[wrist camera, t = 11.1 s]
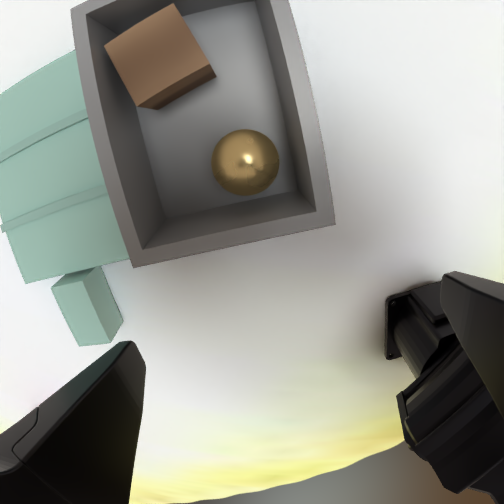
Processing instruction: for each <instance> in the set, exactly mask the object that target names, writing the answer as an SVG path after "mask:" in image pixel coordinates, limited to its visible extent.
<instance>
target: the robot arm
mask: <svg viewBox="0 0 504 504" xmlns="http://www.w3.org/2000/svg"><path fill="white" fill-rule="evenodd" d="M393 301H394V303H393V304H391V303H392V302H393ZM390 354H391V355H390ZM402 356H403V358H404V359H405V361H406V363H407V364H408V366H409V368H410V370H411V371H412V373H413V375H414V376H415V378H416V380H415V381H414V382H413V383H412V384H410V385H409V386H408V387H407V388H406V389H405V390H404V391H401V392H400V393H399V394H398V395H397V396H396V398H397V402H398V408H399V413H400V418H401V423H402V429H403V434H404V439H405V441H406V442H407V443H408V447H409V449H410V450H411V451H414V452H415V453H416V454H417V455H418V456H419V457H420V458H422V459H423V460H425V461H428V462H429V463H430V465H431V466H432V468H433V469H434V471H435V472H436V474H437V476H438V478H439V479H440V481H441V483H442V485H443V486H444V488H446V489H448V490H450V491H452V492H454V493H456V494H459V493H460V492H462V491H463V490H465V489H466V488H468V489H472V490H475V491H479V492H483V493H487V494H489V495H490V496H491V498H492V499H493V500H494V502H495V504H504V284H503V283H499V282H495V281H491V280H488V279H484V278H480V277H476V276H472V275H469V274H465V273H461V272H457V271H453V272H450V273H446V274H444V275H443V277H442V282H438V283H437V282H436V283H433V284H430V285H426V286H423V287H420V288H416V289H413V290H411V291H408V292H404V293H400V294H397V295H393V296H390V297H389V298H388V299H387V300H386V331H385V357H386V359H387V360H392V359H395V358H399V357H402ZM145 375H146V365H145V362H144V360H143V358H142V356H141V354H140V352H139V350H138V348H137V346H136V344H135V343H134V342H133V341H122V342H119V343H118V344H116V345H115V346H114V347H113V348H111V349H110V350H109V351H107V352H106V353H105V354H104V355H102V356H101V357H100V358H98V359H97V360H96V361H95V362H93V363H92V364H91V365H90V366H88V367H87V368H86V369H84V370H83V371H82V372H81V373H79V374H78V375H77V376H76V377H74V378H73V379H72V380H70V381H69V382H68V383H67V384H65V385H64V386H63V387H62V388H60V389H59V390H58V391H57V392H55V393H54V394H53V395H51V396H50V397H49V398H48V399H46V400H45V401H44V402H43V403H41V404H40V405H39V407H36V408H35V409H34V410H32V411H31V412H30V413H29V414H27V415H26V416H25V417H23V418H22V419H21V420H20V421H18V422H17V423H16V424H14V425H13V426H11V427H10V428H8V429H7V430H6V431H4V432H3V433H1V434H0V504H129V497H130V490H131V482H132V475H133V468H134V461H135V455H136V448H137V442H138V436H139V430H140V425H141V419H142V412H143V401H144V387H145Z"/></svg>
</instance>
